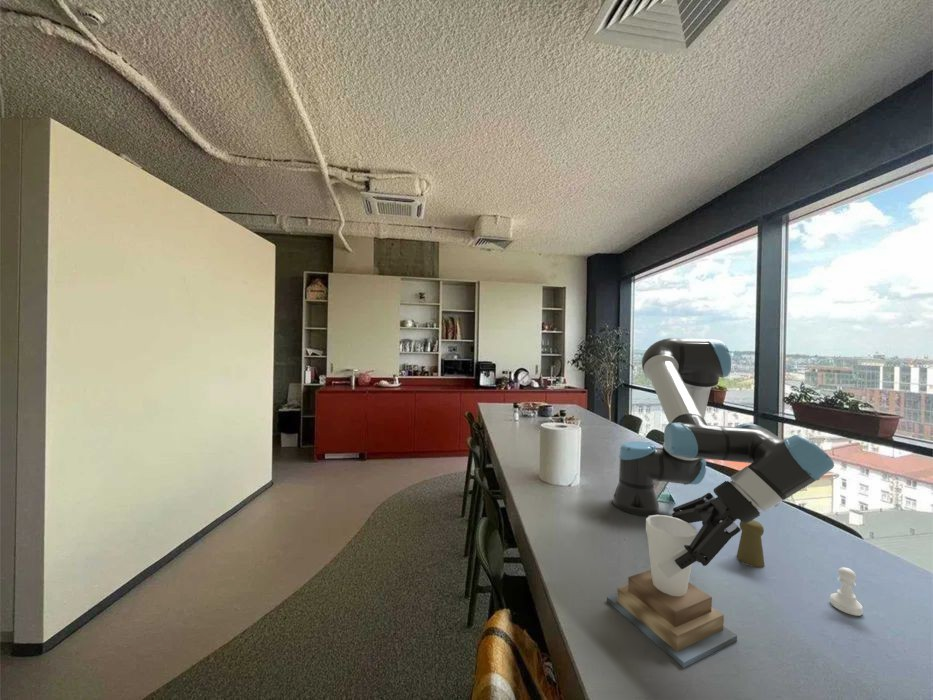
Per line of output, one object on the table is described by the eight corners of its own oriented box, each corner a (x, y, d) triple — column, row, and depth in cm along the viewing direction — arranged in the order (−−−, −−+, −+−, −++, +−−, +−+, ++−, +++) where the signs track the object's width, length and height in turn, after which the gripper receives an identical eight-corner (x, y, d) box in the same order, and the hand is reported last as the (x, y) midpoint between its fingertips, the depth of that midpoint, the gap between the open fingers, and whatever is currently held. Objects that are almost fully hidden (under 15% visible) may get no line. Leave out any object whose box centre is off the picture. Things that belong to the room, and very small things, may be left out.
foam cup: (635, 572, 79) (637, 514, 79) (674, 571, 80) (676, 514, 80) (662, 602, 70) (664, 537, 70) (706, 601, 70) (708, 536, 70)
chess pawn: (825, 597, 83) (826, 559, 83) (853, 603, 81) (854, 565, 81) (838, 612, 78) (839, 572, 78) (868, 619, 77) (870, 578, 77)
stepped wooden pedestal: (606, 601, 80) (607, 570, 80) (655, 583, 86) (656, 555, 86) (683, 668, 63) (685, 629, 63) (737, 640, 70) (738, 605, 70)
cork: (758, 557, 99) (759, 518, 99) (769, 569, 93) (770, 528, 93) (733, 552, 101) (734, 514, 101) (741, 564, 95) (743, 524, 95)
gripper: (793, 543, 57) (684, 608, 63) (737, 488, 81) (661, 538, 86) (754, 505, 59) (652, 570, 65) (711, 462, 82) (638, 513, 88)
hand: (657, 552), depth 75 cm, fingers open, 13 cm apart
